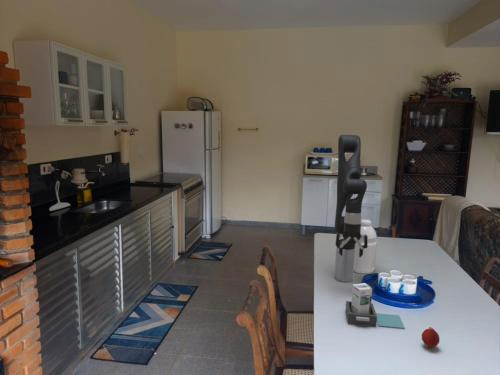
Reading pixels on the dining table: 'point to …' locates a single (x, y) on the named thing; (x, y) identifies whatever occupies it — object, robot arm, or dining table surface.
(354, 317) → the gray frame
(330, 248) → the dining table surface
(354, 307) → the syrup box
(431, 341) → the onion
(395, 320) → the teal mat
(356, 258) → the bottle
